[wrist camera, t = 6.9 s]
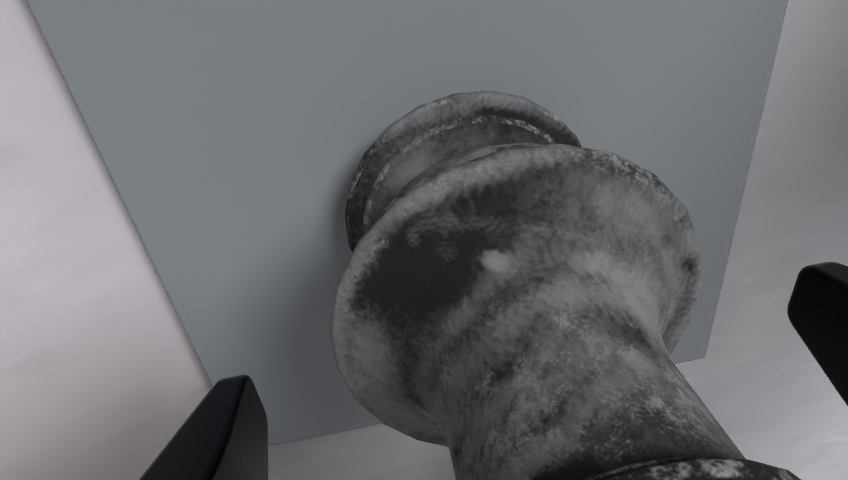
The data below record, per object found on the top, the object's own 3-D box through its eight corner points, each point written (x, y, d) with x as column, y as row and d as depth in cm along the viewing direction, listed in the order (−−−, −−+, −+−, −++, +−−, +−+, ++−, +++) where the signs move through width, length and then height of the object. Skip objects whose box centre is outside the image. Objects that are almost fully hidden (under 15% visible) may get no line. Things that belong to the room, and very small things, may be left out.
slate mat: (818, -246, 9) (848, -254, 9) (693, 343, 17) (704, 357, 16) (-19, -137, 8) (-41, -140, 8) (246, 434, 16) (244, 451, 15)
